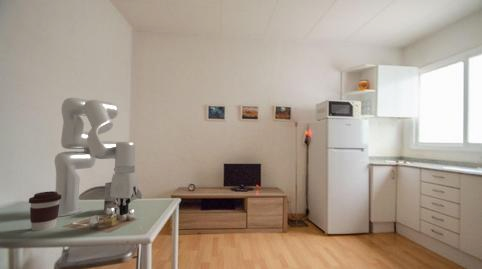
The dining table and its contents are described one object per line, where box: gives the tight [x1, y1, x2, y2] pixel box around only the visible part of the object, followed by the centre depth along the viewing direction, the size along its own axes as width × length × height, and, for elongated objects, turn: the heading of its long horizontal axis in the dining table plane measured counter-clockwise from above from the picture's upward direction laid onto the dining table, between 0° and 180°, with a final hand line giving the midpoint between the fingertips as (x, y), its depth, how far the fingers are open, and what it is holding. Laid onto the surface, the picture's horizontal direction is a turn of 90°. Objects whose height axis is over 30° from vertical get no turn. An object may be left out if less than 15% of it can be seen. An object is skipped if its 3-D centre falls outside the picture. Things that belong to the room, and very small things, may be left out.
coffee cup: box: [28, 190, 62, 231], centre depth 87 cm, size 10×10×15 cm
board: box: [62, 214, 139, 234], centre depth 91 cm, size 24×16×1 cm, turn 76°
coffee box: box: [103, 182, 120, 215], centre depth 108 cm, size 9×6×16 cm
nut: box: [104, 215, 117, 225], centre depth 91 cm, size 4×5×2 cm
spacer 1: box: [89, 214, 100, 229], centre depth 85 cm, size 3×3×4 cm
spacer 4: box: [125, 208, 135, 221], centre depth 95 cm, size 3×3×4 cm
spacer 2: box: [106, 207, 116, 217], centre depth 98 cm, size 3×3×4 cm
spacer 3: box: [115, 208, 125, 220], centre depth 96 cm, size 3×3×4 cm
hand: (123, 214), depth 89 cm, fingers closed
